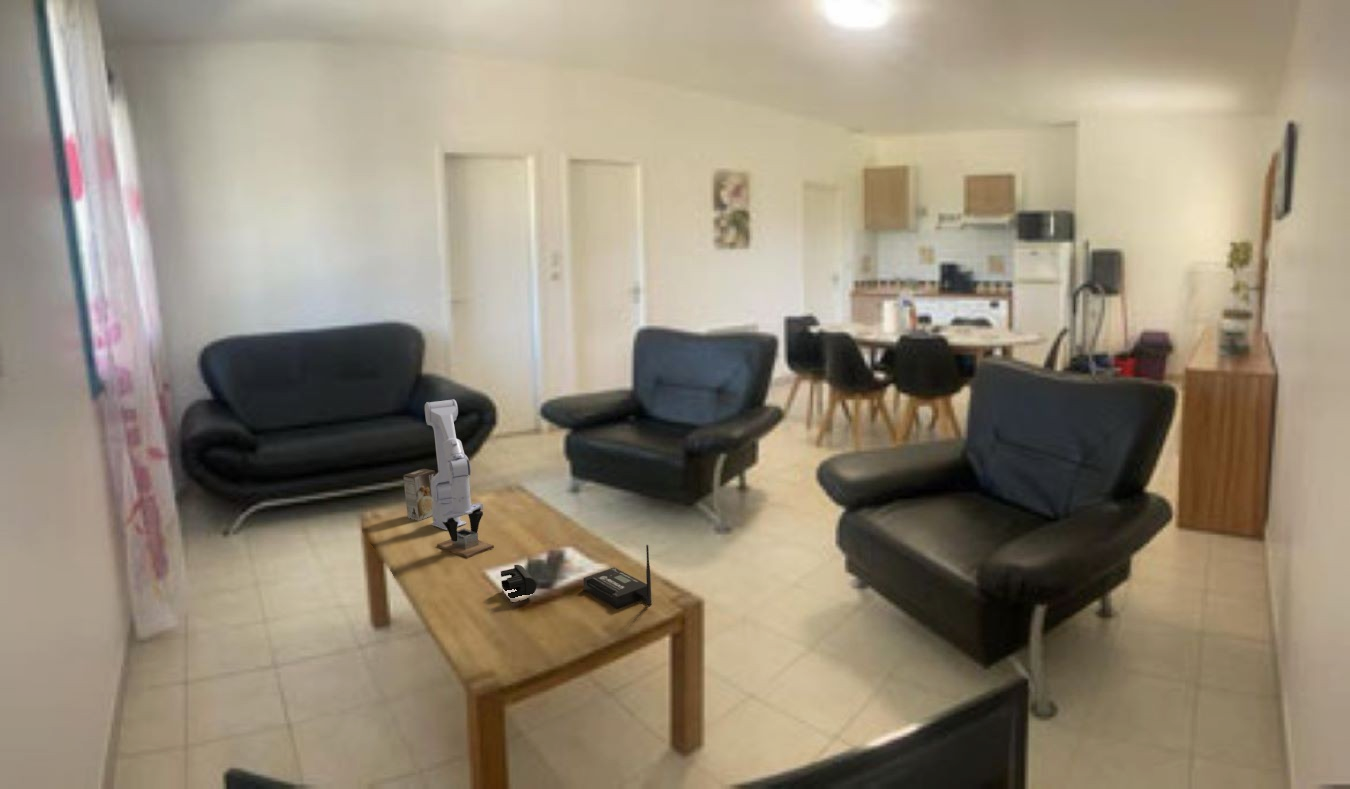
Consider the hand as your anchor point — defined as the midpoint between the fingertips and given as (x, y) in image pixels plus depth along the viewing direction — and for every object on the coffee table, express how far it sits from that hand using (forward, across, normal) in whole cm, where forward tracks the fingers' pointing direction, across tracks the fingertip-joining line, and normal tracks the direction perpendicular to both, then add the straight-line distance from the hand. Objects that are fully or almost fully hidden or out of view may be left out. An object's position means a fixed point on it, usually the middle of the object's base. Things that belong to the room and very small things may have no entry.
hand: (464, 537), depth 253 cm
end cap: (+4, -12, -41) cm, 43 cm away
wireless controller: (+4, +4, -64) cm, 64 cm away
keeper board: (+3, 0, 0) cm, 3 cm away
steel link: (+3, 0, 0) cm, 3 cm away
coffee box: (+4, +9, +37) cm, 38 cm away
